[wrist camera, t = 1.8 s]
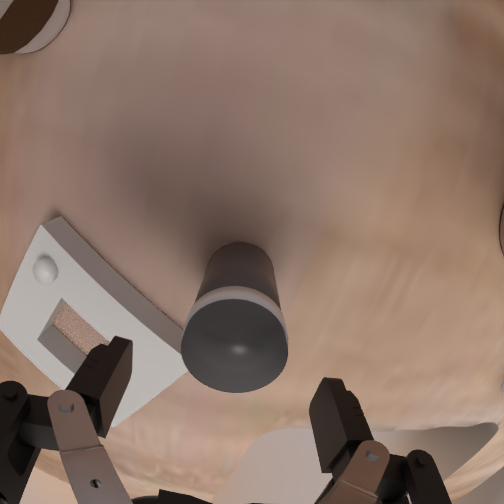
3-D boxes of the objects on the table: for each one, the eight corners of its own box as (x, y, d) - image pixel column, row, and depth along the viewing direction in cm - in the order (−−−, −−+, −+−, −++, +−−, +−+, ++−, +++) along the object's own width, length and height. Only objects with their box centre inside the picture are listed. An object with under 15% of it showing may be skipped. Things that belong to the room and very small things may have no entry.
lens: (289, 274, 23) (312, 353, 14) (241, 316, 24) (236, 407, 15) (239, 226, 22) (231, 282, 13) (192, 274, 23) (157, 351, 14)
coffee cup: (-5, 87, 18) (-96, 81, 6) (18, -5, 14) (-53, -36, 3) (81, 62, 18) (-21, 23, 6) (106, -38, 14) (43, -103, 3)
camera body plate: (200, 343, 25) (192, 373, 21) (121, 409, 28) (110, 434, 24) (61, 215, 22) (33, 227, 18) (12, 312, 25) (-9, 330, 21)
